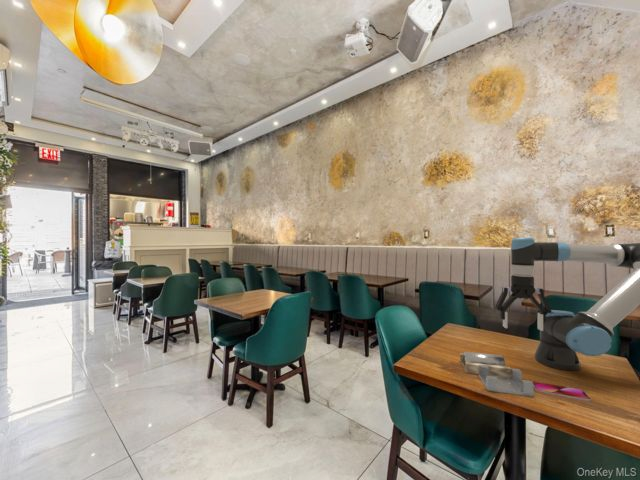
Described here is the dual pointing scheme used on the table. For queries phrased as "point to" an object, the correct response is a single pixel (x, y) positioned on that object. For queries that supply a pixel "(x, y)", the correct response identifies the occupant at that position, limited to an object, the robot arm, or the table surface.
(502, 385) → the cradle
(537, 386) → the smartphone
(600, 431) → the table surface
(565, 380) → the table surface
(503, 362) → the axle
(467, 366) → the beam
